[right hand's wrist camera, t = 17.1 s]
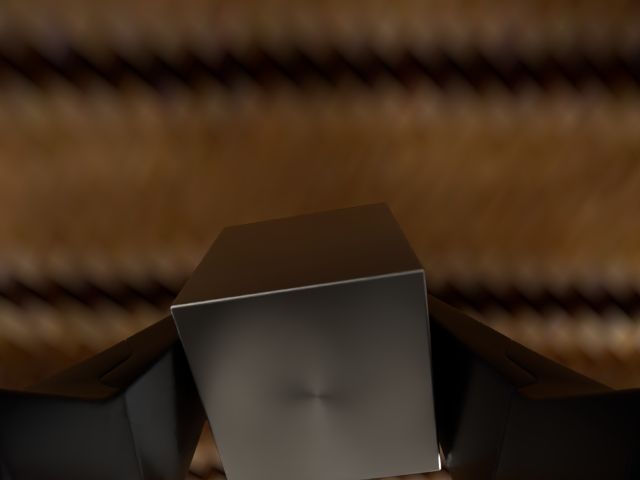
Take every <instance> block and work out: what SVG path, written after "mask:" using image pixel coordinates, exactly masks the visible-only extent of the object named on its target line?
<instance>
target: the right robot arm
mask: <svg viewBox="0 0 640 480" xmlns="http://www.w3.org/2000/svg"><path fill="white" fill-rule="evenodd" d="M427 301H428V313H429V325H430V337H431V349H432V362H433V374H434V386H435V398H436V410H437V422H438V434H439V442H440V445H441V448H442V451H443V454H444V457H445V460H446V463H447V466H448V469H449V471H450V474H451V477H452V480H640V388H632V389H622V390H615V389H612V388H610V387H608V386H606V385H604V384H602V383H599V382H597V381H595V380H593V379H591V378H589V377H587V376H584V375H582V374H580V373H578V372H576V371H574V370H571V369H569V368H567V367H565V366H563V365H561V364H559V363H557V362H554V361H552V360H550V359H548V358H546V357H544V356H542V355H540V354H538V353H536V352H534V351H532V350H530V349H529V348H527V347H525V346H523V345H521V344H519V343H517V342H516V341H514V340H512V341H511V339H510V338H508V337H506V336H505V335H503V334H501V333H499V332H497V331H495V330H494V329H492V328H490V327H488V326H486V325H484V324H483V323H481V322H479V321H477V320H475V319H473V318H472V317H470V316H468V315H466V314H464V313H462V312H461V311H459V310H457V309H455V308H453V307H451V306H450V305H448V304H446V303H444V302H442V301H440V300H439V299H437V298H435V297H433V296H431V295H429V294H428V293H427ZM206 418H207V417H206V414H205V411H204V408H203V405H202V402H201V399H200V396H199V393H198V390H197V387H196V384H195V381H194V378H193V375H192V372H191V369H190V366H189V363H188V360H187V357H186V354H185V351H184V348H183V345H182V342H181V339H180V336H179V333H178V330H177V327H176V324H175V321H174V318H173V315H170V316H168V317H166V318H164V319H162V320H161V321H159V322H157V323H155V324H153V325H151V326H150V327H148V328H146V329H144V330H142V331H140V332H138V333H137V334H135V335H133V336H131V337H129V338H127V339H126V341H125V340H124V341H122V342H120V343H118V344H116V345H114V346H112V347H111V348H109V349H107V350H105V351H103V352H101V353H99V354H97V355H95V356H93V357H91V358H89V359H87V360H85V361H82V362H80V363H78V364H76V365H74V366H72V367H70V368H68V369H65V370H63V371H61V372H59V373H57V374H55V375H52V376H50V377H48V378H46V379H44V380H41V381H39V382H37V383H35V384H33V385H31V386H28V387H26V388H24V389H22V390H13V389H3V388H0V480H185V479H186V476H187V473H188V470H189V467H190V464H191V461H192V459H193V456H194V453H195V450H196V447H197V444H198V441H199V438H200V436H201V433H202V430H203V427H204V424H205V421H206Z"/></svg>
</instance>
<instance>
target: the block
mask: <svg viewBox="0 0 640 480" xmlns="http://www.w3.org/2000/svg"><path fill="white" fill-rule="evenodd" d="M170 309H171V312H172V315H173V318H174V321H175V324H176V327H177V330H178V333H179V336H180V339H181V342H182V345H183V348H184V351H185V354H186V357H187V360H188V363H189V366H190V369H191V372H192V375H193V378H194V381H195V384H196V387H197V390H198V393H199V396H200V399H201V402H202V405H203V408H204V411H205V414H206V417H207V420H208V423H209V426H210V429H211V432H212V435H213V438H214V441H215V444H216V447H217V450H218V453H219V456H220V459H221V462H222V465H223V468H224V471H225V474H226V477H227V480H363V479H371V478H380V477H388V476H396V475H405V474H413V473H422V472H430V471H438V470H440V469H441V459H440V447H439V434H438V422H437V410H436V398H435V386H434V374H433V362H432V349H431V337H430V325H429V313H428V301H427V289H426V276H425V270H424V268H423V266H422V265H421V263H420V261H419V259H418V258H417V256H416V254H415V252H414V251H413V249H412V247H411V245H410V244H409V242H408V240H407V238H406V237H405V235H404V233H403V231H402V230H401V228H400V226H399V224H398V223H397V221H396V219H395V217H394V216H393V214H392V212H391V210H390V209H389V207H388V205H387V203H385V202H383V203H377V204H370V205H364V206H358V207H351V208H345V209H339V210H332V211H326V212H320V213H313V214H307V215H301V216H294V217H288V218H282V219H275V220H269V221H263V222H257V223H250V224H244V225H238V226H231V227H225V228H224V229H223V230H222V232H221V233H220V235H219V236H218V238H217V239H216V240H215V242H214V243H213V245H212V246H211V248H210V249H209V251H208V252H207V254H206V255H205V256H204V258H203V259H202V261H201V262H200V264H199V265H198V267H197V268H196V270H195V271H194V273H193V274H192V275H191V277H190V278H189V280H188V281H187V283H186V284H185V286H184V287H183V289H182V290H181V292H180V293H179V294H178V296H177V297H176V299H175V300H174V302H173V303H172V305H171V308H170Z"/></svg>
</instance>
